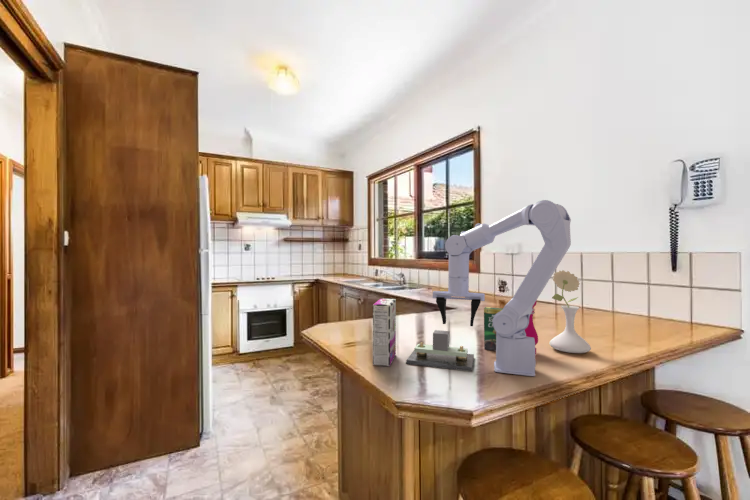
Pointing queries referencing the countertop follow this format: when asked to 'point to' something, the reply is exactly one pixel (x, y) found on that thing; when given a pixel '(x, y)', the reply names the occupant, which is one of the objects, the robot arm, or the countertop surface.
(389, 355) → the candy bar box
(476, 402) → the countertop surface
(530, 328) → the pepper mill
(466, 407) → the countertop surface
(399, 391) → the countertop surface
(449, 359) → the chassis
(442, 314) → the robot arm
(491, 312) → the coffee box
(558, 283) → the flower in vase
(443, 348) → the board
